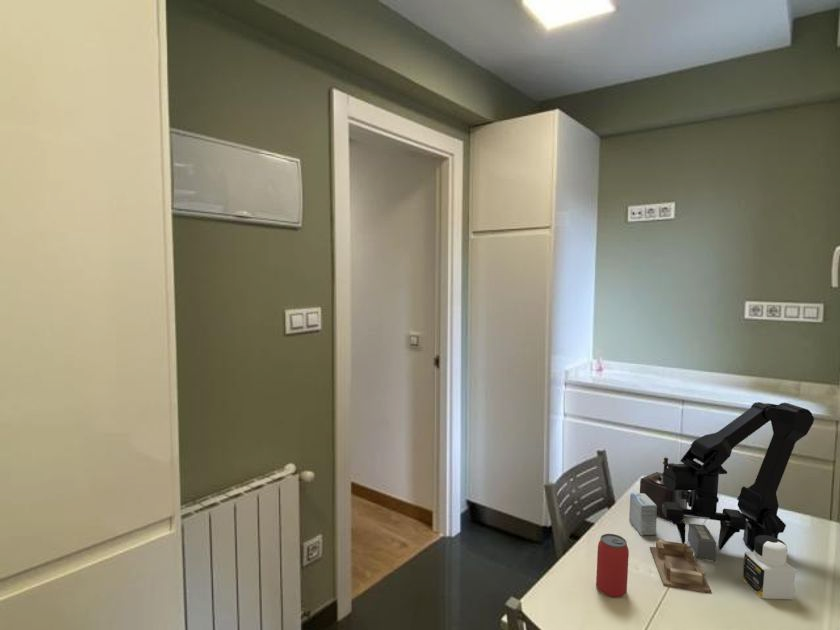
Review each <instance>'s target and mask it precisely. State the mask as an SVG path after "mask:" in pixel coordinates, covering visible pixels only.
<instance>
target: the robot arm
mask: <svg viewBox="0 0 840 630" xmlns="http://www.w3.org/2000/svg"><path fill="white" fill-rule="evenodd" d="M769 422H770V424H771V429H772V433H773V434H772V437H771V438H770V442H769V444H768V447H767V450H766V452H765V455H764V457H763V459H762V462H761V465H760V467H759V471H758V473H757V475H756V477H755V480H754V482H753V484H751V485H749V486H748V487H746V486H742V487H741V488H740V493H739V495H738V496H737V498H736V500H737V507H738V509H732V508H723V509H722V512H718V511H717V507H718V506H717V505H718V503H719V500H720V499H719V497H718V493H719V491H718V490H719V477H720V475H727V474H728V471H727V470H726V469H725V468H724V467H723V466H722V465H724V464H725V462H726V461H727V460H728V459H729V458H730V457H731V454H732V451H733V449H734V448H735V447H737V445H739V444H740V443H741V442H743V441H744V440H745V439H747V438H749V437H750V436H751V435H752V434H754V433H755V432H756V431H758V430H760V429H761V428H762V427H763V426H764V425H767V423H769ZM814 422H815V417H814V416H813V413H812V412H811V411H810V409H807V408H804V407H801V406H798V405H795V404H793V403H792V404H791V403H789V402H781V403H779V404H775V403H769V402H768V403H767V402H765V403H764V402H761V401H758V402H754V403H752V405H751V406H750V408H748V409H747V410H746V411H744V412H743V413H741V414H740V415H739V416H737V417H736V418H735V419H734V420H732V421H730V423H728V424H726V425H725V426H724V427H723V428H721V429H720V430H718V431H716V432H713V433H709V434H705V435H703V436H700V437H698V438H697V439H695V440H694V441H693V442H691V444H690V448H688V450H687V451H686V452H685V454H684V455H683V456H682V458H681V459H680V462H681V463H669V462H668V466H667V468H666V469H665V470H664V469H663V471H664V472H662V473H663V474H662V478H663V483H664V485H665V487H666V488H667V490H669V491H679V498H680V499H686V503H687V507H689V508H687V509H684V508H681V506H680V505H679V503H673V502H664V503H663V504H662V512H663V514H664V516H665V518H666V519H665V518H664V519H665V520H666V521H669V522H671V523H672V524H673V525H675V526H676V527H677V530H678V534H679V538H680V541H681V542H680V543H684V544H686V543H685V542H686V523H685V521H684V517H685V518H686V517H688V518H695V519H704V520H711V521H718V522H719V523H720V524H719V525H720V529H719V535H718V540H717V541H718V543H717V544H718V545H717V547H718V548H717V549H718V550H720V551H721V550H722V549H723V548H724V547H725V546H726V544H727V542H728V541H729V540H730V539H731V538H732V537H733V536H734V535H735V534H736V533H740V532H741V530H743V537H742V540H743V541H744V543H745V544H746V545H747V547H748V548H749V549H750V552H754V544H755V537H757V536H759V535H767V536H772V537H775V538H777V539H779V538H778V537H779V534H781V533H784V531H785V530H786V528H787V527H786V526H787V524H786V523H785V522H784V521H783V520H782V519H781V518H780V517H779V516H778V510H779V502H778V496H777V492H778V489H779V486H780V483H781V481H782V478H783V476H784V473H785V471H786V468H787V466H788V463H789V462H790V461H789V460H790V458H791V455H792V453H793V450H794V448H795V446H796V443H797V442H798V441H799V440H801V439H802V438H803V437H804V438H805V436H807V435H808V433H809V432H810V430H811V428H812V426H813V424H814ZM697 461H699V462H701V463H702V464H701V463H698V462H697Z"/></svg>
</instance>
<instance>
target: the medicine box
mask: <svg viewBox="0 0 840 630" xmlns="http://www.w3.org/2000/svg"><path fill="white" fill-rule="evenodd" d="M629 498H630V499H629V519H628V521H629V523H631V525H632V527H634V528H635V530H636V531H637V532H638V534H640V535H641V536H656V535H657V506H656V504H655V503H654V502H653V501H652V500H651V499H650V498H649V497H648V496H647V495H646V494H643V493H640V492H638V493H635V492H633V493H630V497H629Z"/></svg>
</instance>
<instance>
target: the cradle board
mask: <svg viewBox="0 0 840 630" xmlns="http://www.w3.org/2000/svg"><path fill="white" fill-rule="evenodd" d="M649 551H650V553H651V556H652V559H653V561H654V564H655V567H656V569H657V573H658V575H659V579H660V580H661V583H662V585H663V586H664V587H668V588H669V587H670V588H676V589H677V588H678V589H682V590H689V591H694V592H695V591H696V592H701V593H708V594H712V589H711V587H710V585H709V582H708V581H707V579H706V577H705V572H704V570H703V567H702V566H699V564H698V562H697V560H696V557H695V556H694V551H693V549H692V547H691V545H687V543H685V544H684V543H682V542H676V541H668V540H667V541H666V540H660V539H658V541H655V546H649Z"/></svg>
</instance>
